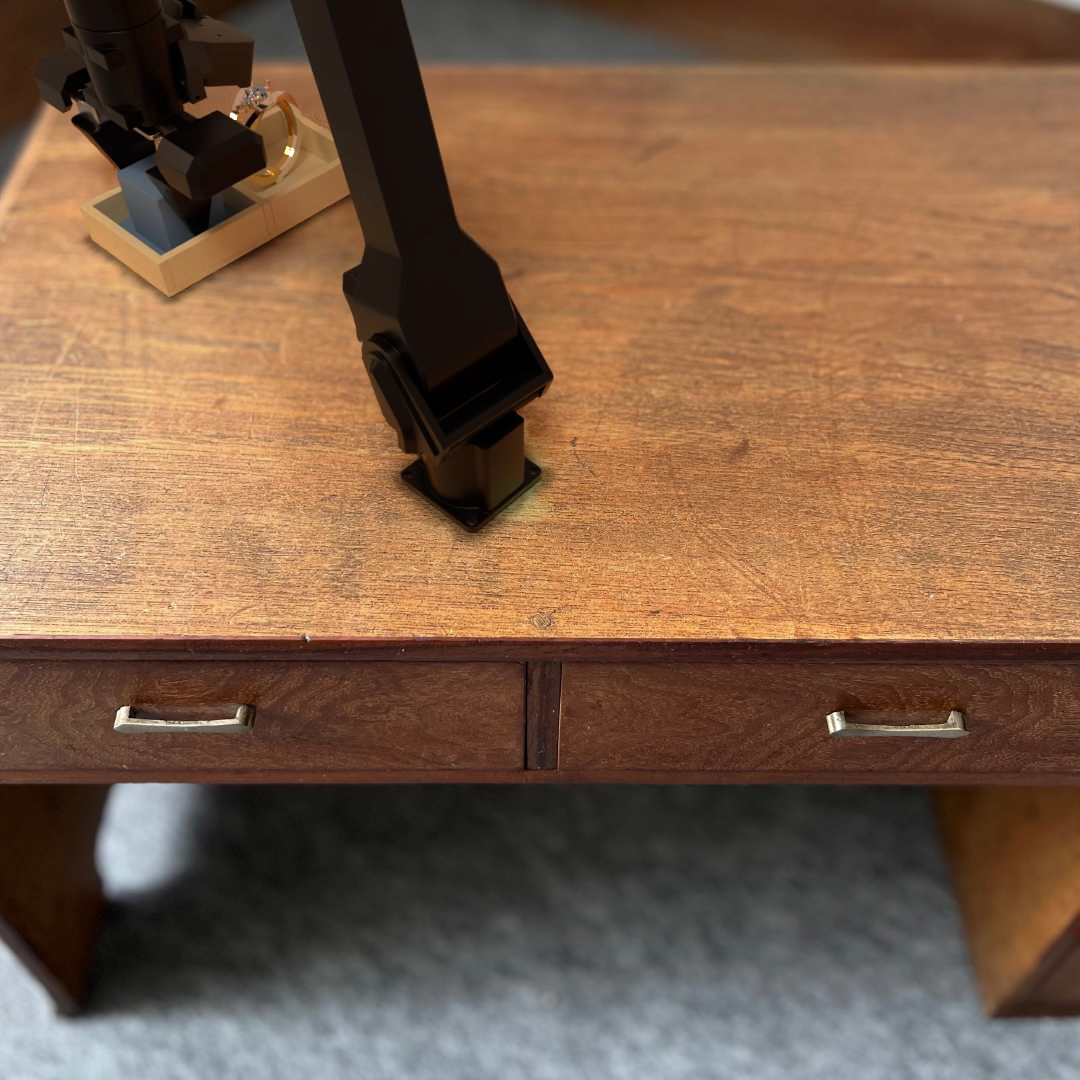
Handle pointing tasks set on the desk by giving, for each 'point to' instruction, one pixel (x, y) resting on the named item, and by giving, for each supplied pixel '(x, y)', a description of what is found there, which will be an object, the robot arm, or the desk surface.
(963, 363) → the desk surface
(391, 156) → the robot arm
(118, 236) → the tray
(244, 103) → the ring
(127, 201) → the blue block
